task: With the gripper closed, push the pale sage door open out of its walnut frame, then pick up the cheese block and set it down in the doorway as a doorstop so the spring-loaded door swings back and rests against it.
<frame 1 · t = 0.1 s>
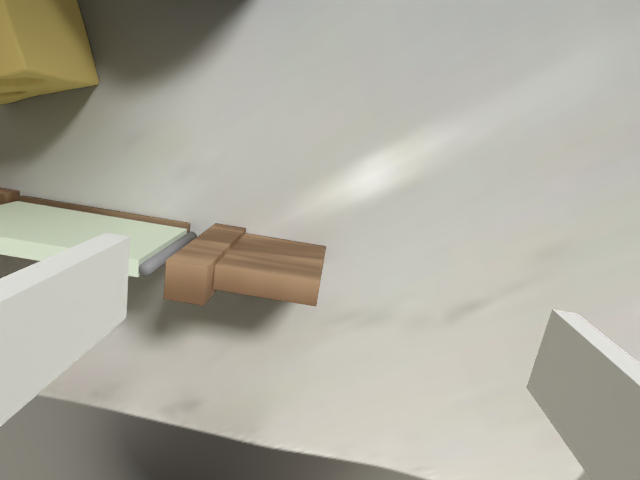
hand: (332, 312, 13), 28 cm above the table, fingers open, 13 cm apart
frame: (118, 222, 42), on the table
cheese: (38, 36, 39), on the table
door: (75, 245, 37), point 6 cm above the table, hinge at 0.0°
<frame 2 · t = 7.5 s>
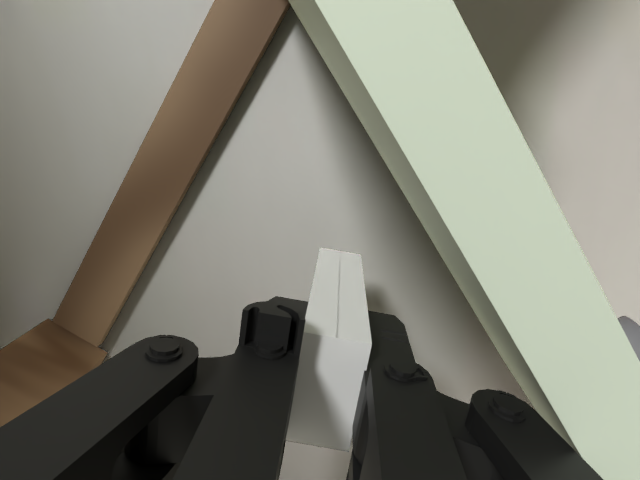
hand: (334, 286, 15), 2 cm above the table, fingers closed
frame: (180, 144, 17), on the table
door: (468, 162, 11), point 6 cm above the table, hinge at 65.6°, touching hand
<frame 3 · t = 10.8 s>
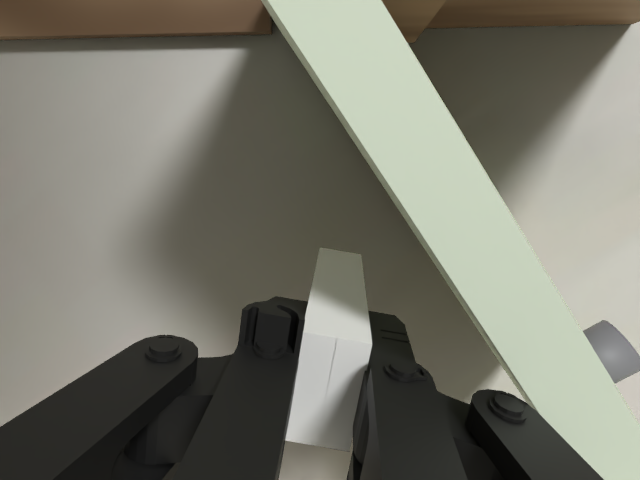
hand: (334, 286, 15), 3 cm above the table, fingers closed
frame: (89, 7, 17), on the table
door: (456, 189, 12), point 6 cm above the table, hinge at 124.4°
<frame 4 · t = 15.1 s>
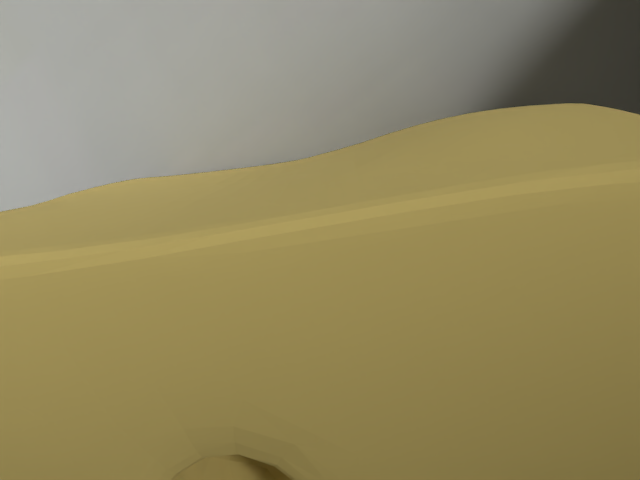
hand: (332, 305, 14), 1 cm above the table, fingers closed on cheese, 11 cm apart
cheese: (331, 294, 15), on the table, touching gripper
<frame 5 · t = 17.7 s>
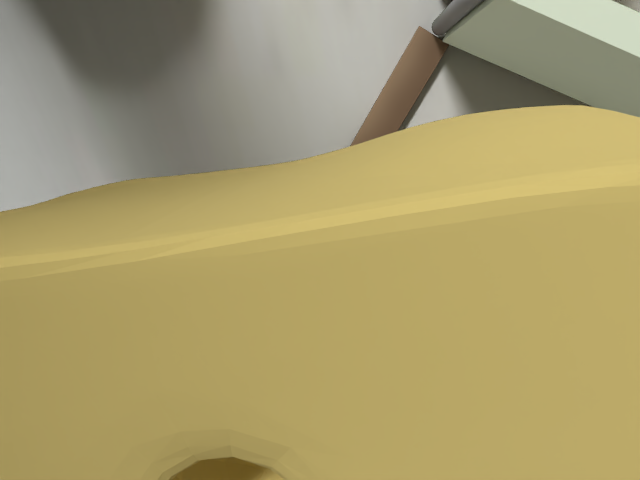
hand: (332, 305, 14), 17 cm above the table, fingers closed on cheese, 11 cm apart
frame: (373, 137, 29), on the table
cheese: (330, 294, 15), point 16 cm above the table, touching gripper
door: (620, 53, 22), point 6 cm above the table, hinge at 97.8°
when the fingers open (3 cm above the table, at t = 21.0 s): cheese drops 2 cm, on the table.
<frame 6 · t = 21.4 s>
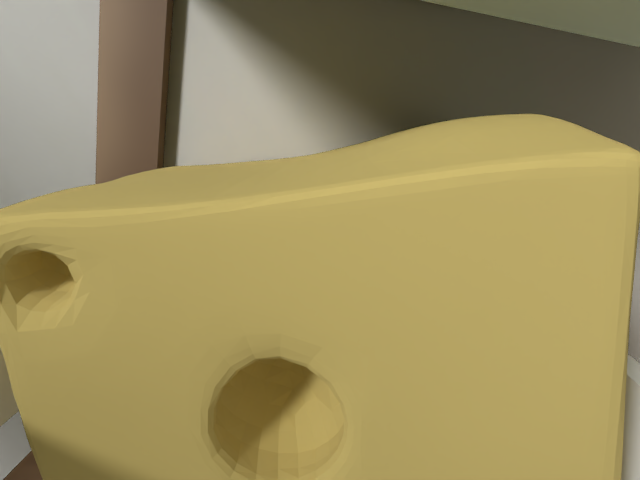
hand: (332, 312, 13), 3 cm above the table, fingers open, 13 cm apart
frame: (133, 164, 16), on the table
cheese: (336, 274, 17), on the table
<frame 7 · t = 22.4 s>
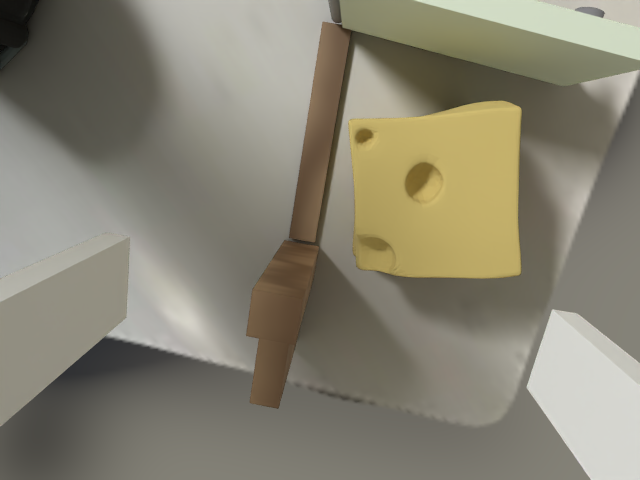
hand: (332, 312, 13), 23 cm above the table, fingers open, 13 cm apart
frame: (321, 123, 34), on the table
cheese: (413, 179, 35), on the table
door: (472, 13, 26), point 6 cm above the table, hinge at 85.0°
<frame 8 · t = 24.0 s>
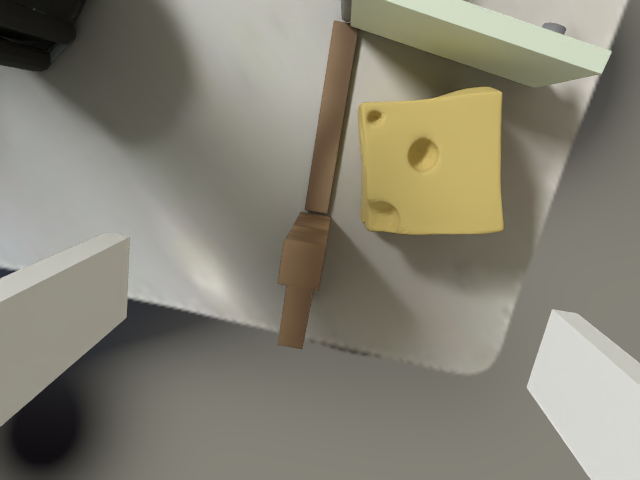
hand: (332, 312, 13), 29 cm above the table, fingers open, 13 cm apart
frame: (332, 109, 39), on the table
cheese: (412, 157, 40), on the table
door: (459, 21, 32), point 6 cm above the table, hinge at 81.4°
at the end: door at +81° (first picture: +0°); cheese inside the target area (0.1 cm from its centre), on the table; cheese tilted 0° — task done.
